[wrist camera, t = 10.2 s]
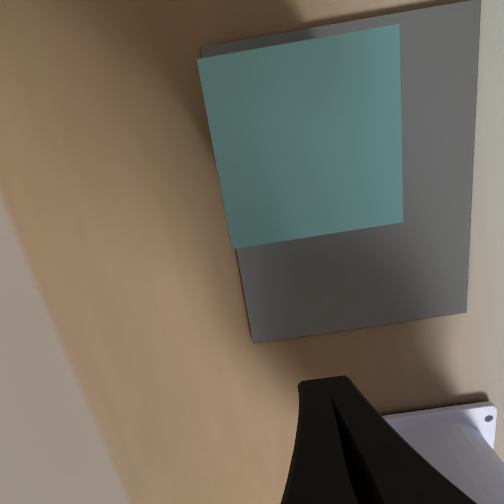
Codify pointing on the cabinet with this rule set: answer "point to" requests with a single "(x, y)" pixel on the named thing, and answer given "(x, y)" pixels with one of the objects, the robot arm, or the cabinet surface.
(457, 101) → the mat
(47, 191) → the cabinet surface
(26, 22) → the cabinet surface
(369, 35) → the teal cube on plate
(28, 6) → the cabinet surface
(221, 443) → the cabinet surface
